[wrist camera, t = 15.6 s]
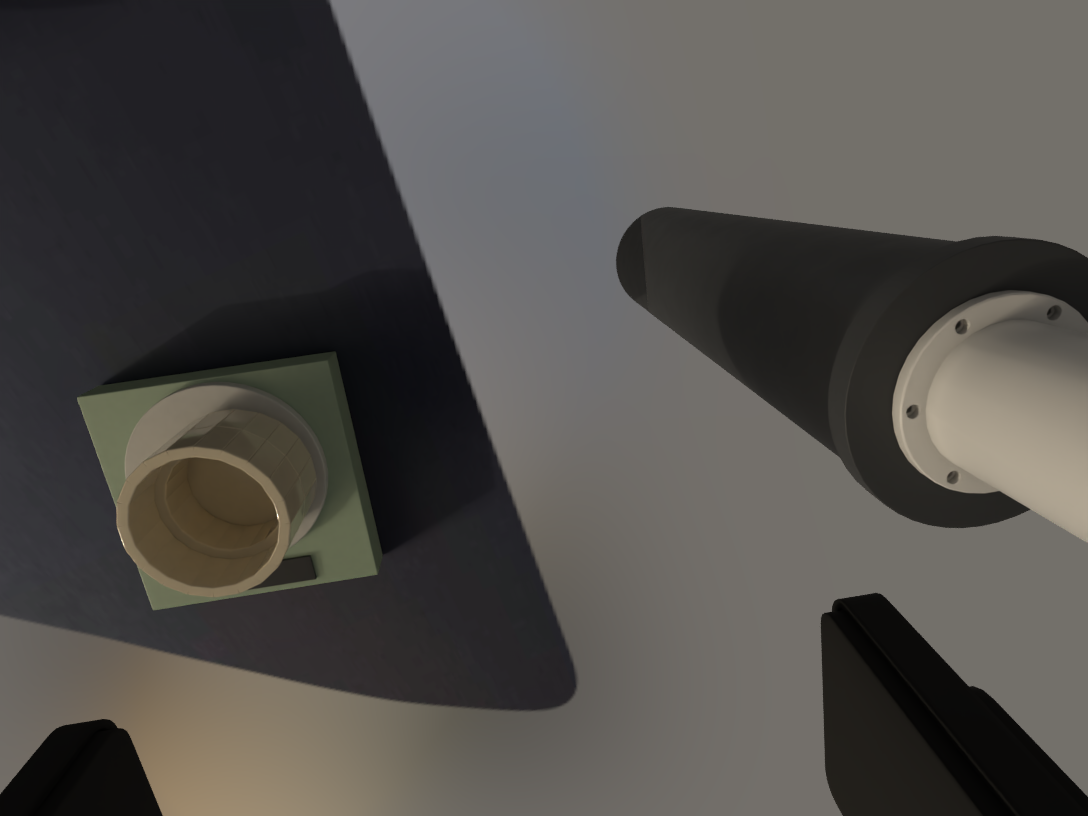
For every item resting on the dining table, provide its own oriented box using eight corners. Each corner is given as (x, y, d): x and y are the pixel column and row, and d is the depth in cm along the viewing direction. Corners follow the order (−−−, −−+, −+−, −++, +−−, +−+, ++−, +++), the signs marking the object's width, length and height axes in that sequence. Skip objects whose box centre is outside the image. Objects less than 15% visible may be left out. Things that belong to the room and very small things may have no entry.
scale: (335, 350, 36) (325, 363, 33) (383, 556, 40) (376, 580, 37) (97, 385, 35) (68, 400, 33) (168, 589, 39) (147, 617, 37)
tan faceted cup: (299, 396, 34) (266, 434, 28) (332, 524, 36) (307, 583, 31) (153, 418, 33) (92, 461, 28) (195, 546, 36) (146, 609, 30)
